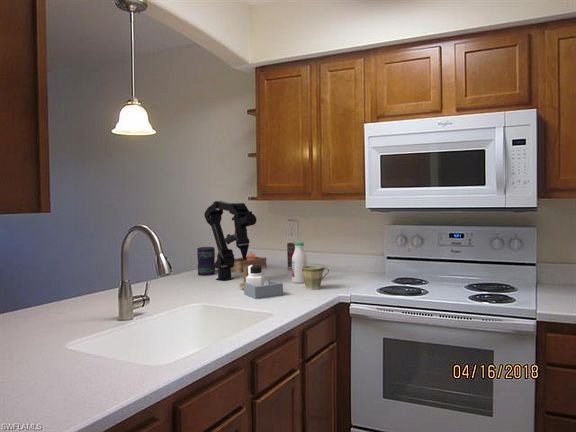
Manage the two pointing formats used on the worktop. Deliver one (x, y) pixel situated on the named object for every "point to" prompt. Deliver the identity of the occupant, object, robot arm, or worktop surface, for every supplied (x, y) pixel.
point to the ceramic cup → (313, 276)
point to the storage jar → (206, 261)
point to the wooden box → (247, 264)
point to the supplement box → (290, 254)
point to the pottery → (250, 256)
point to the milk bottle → (298, 263)
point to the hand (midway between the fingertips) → (244, 259)
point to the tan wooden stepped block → (244, 277)
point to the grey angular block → (264, 290)
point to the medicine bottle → (255, 275)
